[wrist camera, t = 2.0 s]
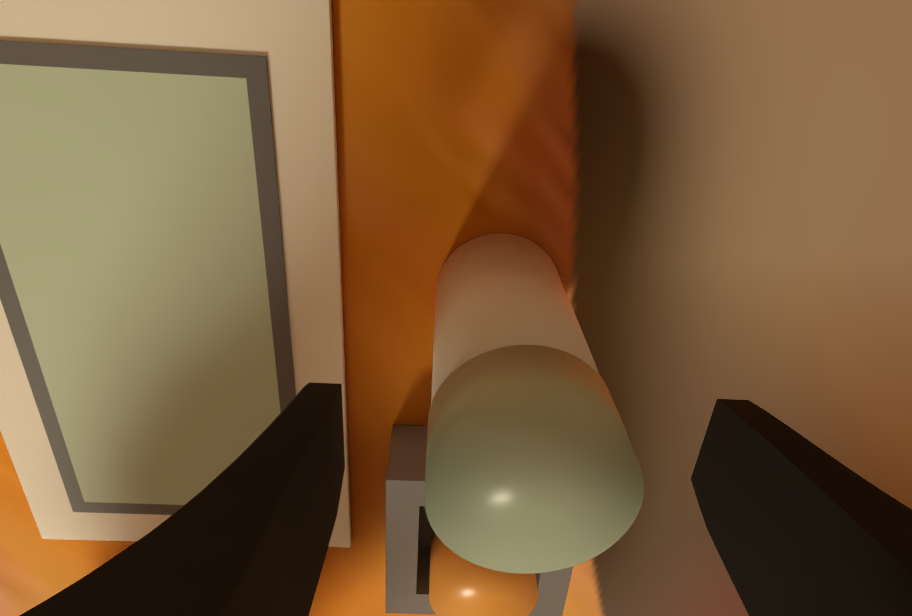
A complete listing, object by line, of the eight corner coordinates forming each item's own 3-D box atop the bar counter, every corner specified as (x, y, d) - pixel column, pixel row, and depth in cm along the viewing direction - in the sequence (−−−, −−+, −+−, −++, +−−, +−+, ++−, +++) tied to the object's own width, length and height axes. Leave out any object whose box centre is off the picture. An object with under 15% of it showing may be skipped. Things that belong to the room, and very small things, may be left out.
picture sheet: (351, 540, 22) (349, 549, 21) (47, 532, 21) (40, 541, 21) (330, -13, 13) (327, -13, 13) (-171, -46, 13) (-189, -47, 12)
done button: (523, 575, 20) (531, 632, 18) (428, 573, 19) (427, 630, 18) (535, 506, 18) (544, 561, 16) (432, 503, 18) (431, 558, 16)
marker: (552, 348, 18) (621, 576, 11) (431, 343, 18) (420, 570, 11) (569, 235, 16) (666, 416, 9) (436, 227, 16) (427, 407, 9)
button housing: (550, 555, 22) (561, 617, 20) (391, 551, 22) (385, 612, 20) (574, 431, 19) (590, 486, 17) (392, 424, 19) (385, 480, 17)
